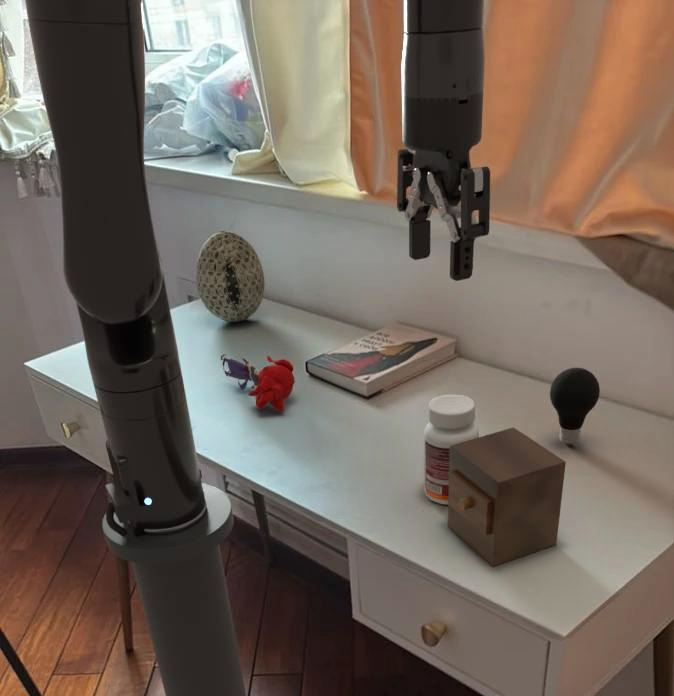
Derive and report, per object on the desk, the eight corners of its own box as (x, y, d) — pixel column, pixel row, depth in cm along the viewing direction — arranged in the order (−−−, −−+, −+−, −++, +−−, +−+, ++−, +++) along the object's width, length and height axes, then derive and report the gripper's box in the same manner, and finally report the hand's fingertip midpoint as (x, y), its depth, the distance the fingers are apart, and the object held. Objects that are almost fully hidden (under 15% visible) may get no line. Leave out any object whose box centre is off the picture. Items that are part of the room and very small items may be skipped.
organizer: (483, 570, 88) (487, 486, 82) (438, 529, 94) (439, 448, 88) (556, 544, 90) (566, 461, 84) (507, 506, 97) (513, 427, 91)
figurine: (245, 372, 131) (316, 396, 123) (207, 402, 127) (278, 428, 119) (233, 335, 126) (307, 357, 118) (194, 365, 123) (266, 390, 115)
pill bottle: (480, 504, 98) (485, 413, 91) (427, 508, 98) (427, 418, 91) (471, 478, 103) (475, 390, 96) (421, 482, 103) (420, 394, 96)
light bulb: (562, 429, 111) (570, 356, 105) (601, 443, 108) (612, 368, 102) (535, 445, 108) (542, 371, 102) (574, 460, 105) (584, 383, 99)
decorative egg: (207, 335, 147) (192, 245, 138) (200, 314, 156) (186, 227, 147) (273, 326, 148) (263, 236, 139) (262, 305, 158) (252, 219, 148)
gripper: (372, 85, 83) (376, 258, 93) (446, 101, 72) (442, 293, 82) (439, 77, 85) (436, 246, 95) (520, 90, 74) (508, 279, 84)
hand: (439, 268), depth 88 cm, fingers open, 8 cm apart
